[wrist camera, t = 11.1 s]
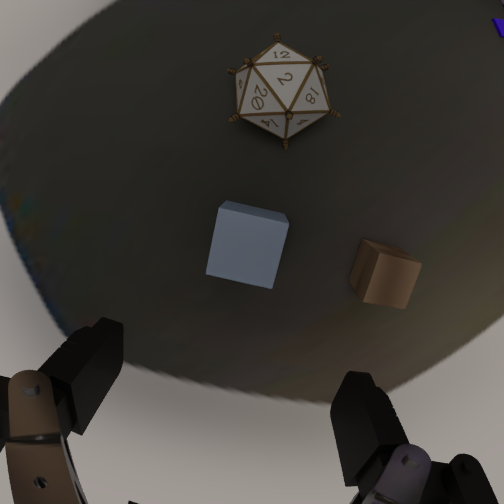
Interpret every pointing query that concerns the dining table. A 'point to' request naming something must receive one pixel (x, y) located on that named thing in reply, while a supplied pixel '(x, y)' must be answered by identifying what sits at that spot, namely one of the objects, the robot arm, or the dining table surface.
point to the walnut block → (384, 274)
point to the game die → (281, 91)
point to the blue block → (247, 244)
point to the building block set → (499, 24)
